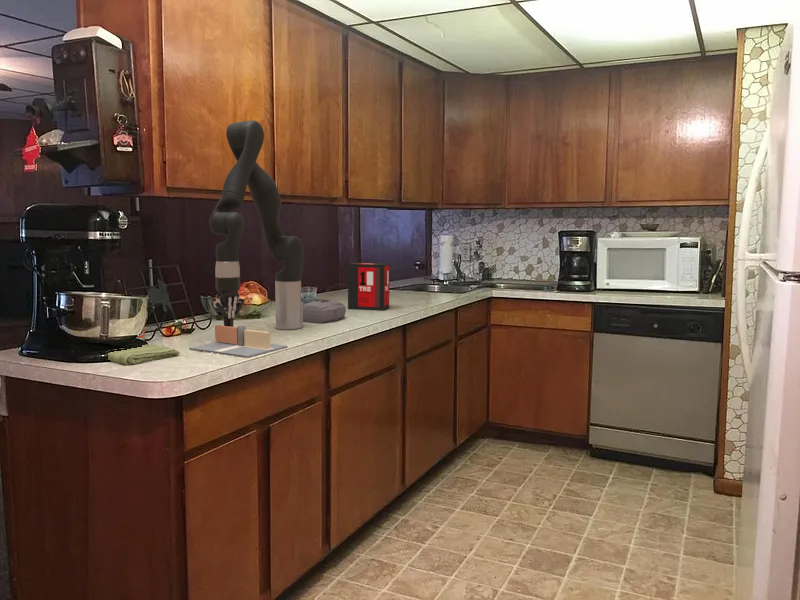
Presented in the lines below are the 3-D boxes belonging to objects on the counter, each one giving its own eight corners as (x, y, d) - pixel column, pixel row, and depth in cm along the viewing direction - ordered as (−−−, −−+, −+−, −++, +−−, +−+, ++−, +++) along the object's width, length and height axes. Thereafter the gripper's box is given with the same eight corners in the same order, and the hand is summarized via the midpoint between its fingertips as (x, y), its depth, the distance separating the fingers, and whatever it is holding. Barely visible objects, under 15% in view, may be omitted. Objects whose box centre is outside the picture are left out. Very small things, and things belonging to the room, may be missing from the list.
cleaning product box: (389, 308, 294) (389, 263, 292) (384, 310, 285) (384, 265, 283) (354, 306, 298) (354, 262, 295) (347, 309, 289) (348, 264, 287)
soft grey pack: (325, 325, 247) (353, 318, 265) (325, 303, 246) (353, 297, 263) (292, 321, 254) (322, 315, 272) (292, 300, 253) (322, 295, 271)
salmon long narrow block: (239, 343, 203) (239, 327, 202) (237, 344, 202) (236, 328, 201) (217, 340, 207) (217, 325, 207) (215, 341, 206) (214, 325, 206)
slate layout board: (230, 340, 213) (230, 320, 212) (287, 347, 203) (287, 326, 202) (189, 349, 198) (188, 328, 197) (248, 357, 187) (247, 335, 186)
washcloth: (182, 356, 189) (182, 345, 189) (127, 368, 175) (127, 356, 174) (154, 351, 197) (153, 340, 196) (99, 361, 182) (98, 350, 182)
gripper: (233, 273, 215) (234, 325, 217) (203, 276, 203) (204, 331, 205) (251, 274, 211) (251, 327, 213) (221, 277, 200) (222, 333, 202)
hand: (228, 329), depth 209 cm, fingers closed
